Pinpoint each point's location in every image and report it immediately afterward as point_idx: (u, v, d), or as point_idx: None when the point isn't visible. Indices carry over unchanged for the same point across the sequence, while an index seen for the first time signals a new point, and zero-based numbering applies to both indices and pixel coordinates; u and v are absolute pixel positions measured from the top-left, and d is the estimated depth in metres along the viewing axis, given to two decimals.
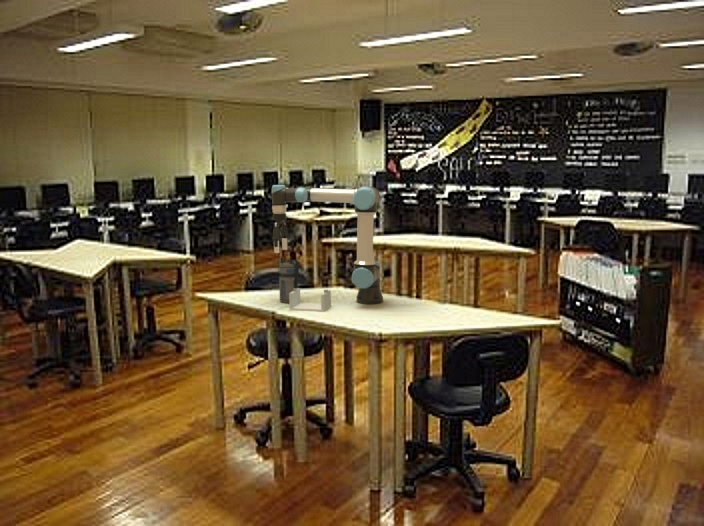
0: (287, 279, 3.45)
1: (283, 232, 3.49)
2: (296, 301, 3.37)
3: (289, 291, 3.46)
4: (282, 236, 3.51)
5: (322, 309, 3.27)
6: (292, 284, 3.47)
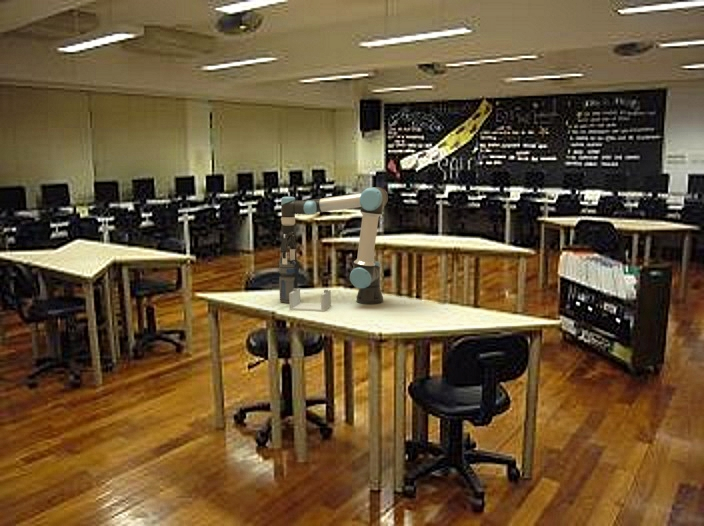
0: (287, 279, 3.45)
1: (291, 243, 3.51)
2: (296, 301, 3.37)
3: (289, 291, 3.46)
4: (290, 247, 3.54)
5: (322, 309, 3.27)
6: (292, 284, 3.47)
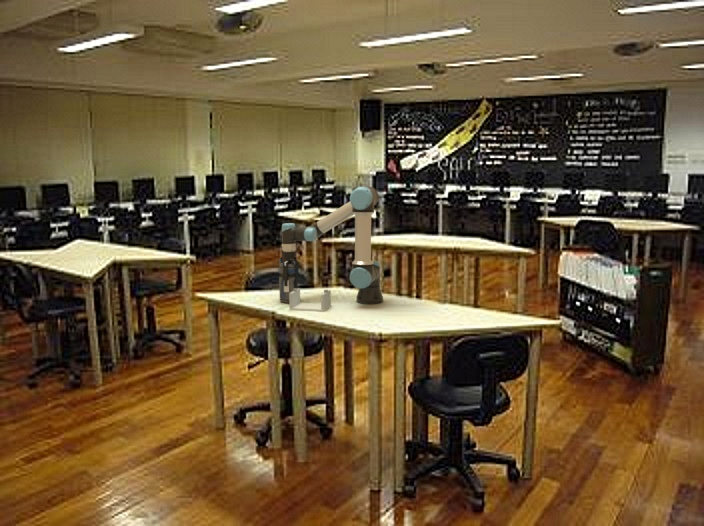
0: None
1: None
2: (296, 301, 3.37)
3: None
4: None
5: (322, 309, 3.27)
6: (292, 284, 3.46)
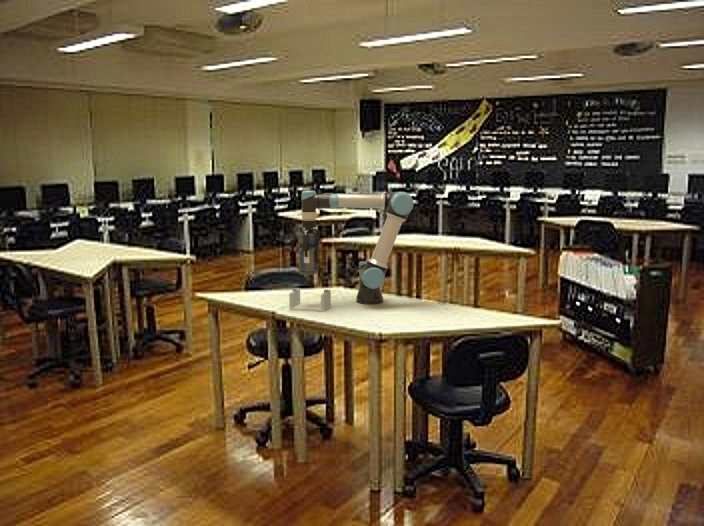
0: None
1: None
2: (296, 301, 3.37)
3: (309, 262, 3.27)
4: None
5: (322, 309, 3.27)
6: (312, 255, 3.28)
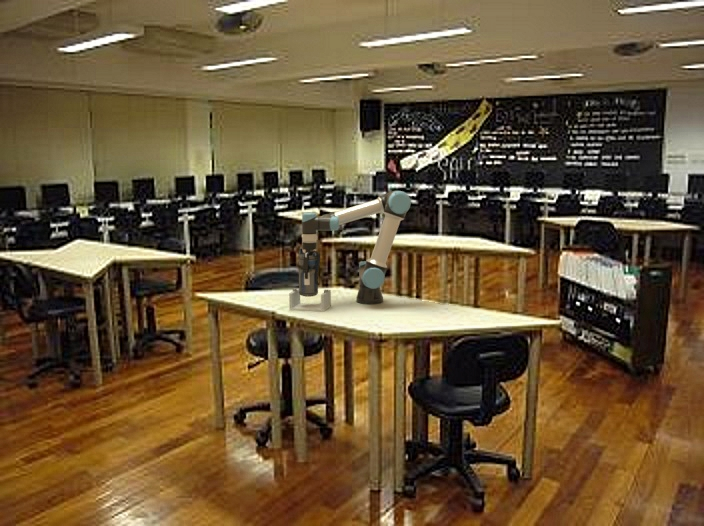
0: None
1: None
2: (296, 301, 3.37)
3: None
4: None
5: (322, 309, 3.27)
6: (312, 277, 3.29)
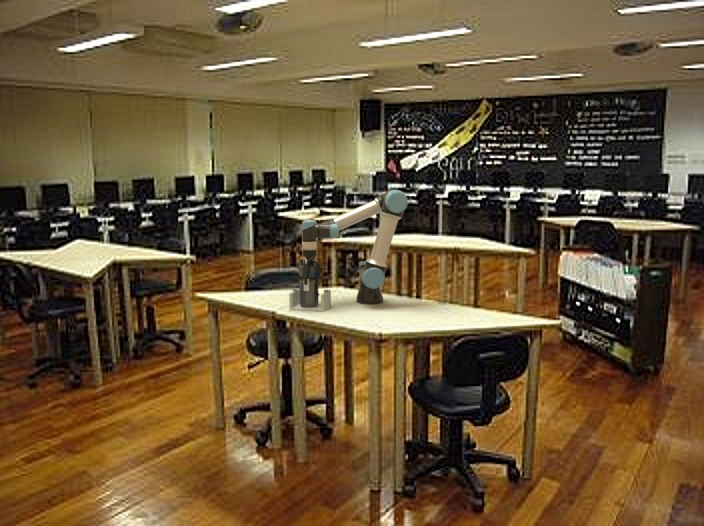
0: None
1: None
2: (296, 301, 3.37)
3: (309, 294, 3.30)
4: None
5: (322, 309, 3.27)
6: (313, 287, 3.30)
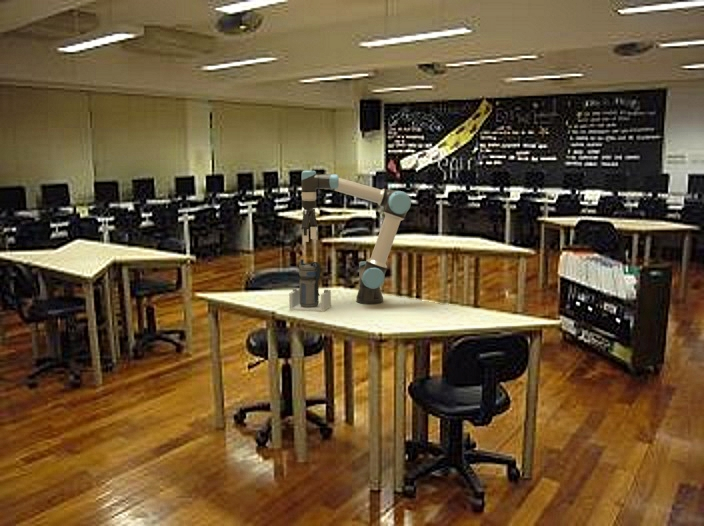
0: (308, 282, 3.29)
1: (312, 220, 3.33)
2: (296, 301, 3.37)
3: (309, 294, 3.30)
4: (311, 224, 3.36)
5: (322, 309, 3.27)
6: (313, 287, 3.30)
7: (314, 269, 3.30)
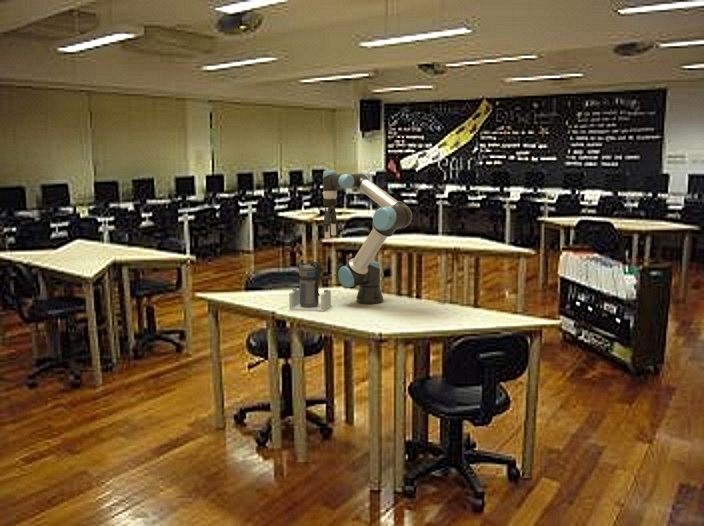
0: (308, 282, 3.29)
1: (332, 217, 3.52)
2: (296, 301, 3.37)
3: (309, 294, 3.30)
4: (331, 221, 3.55)
5: (322, 309, 3.27)
6: (313, 287, 3.30)
7: (314, 269, 3.30)
